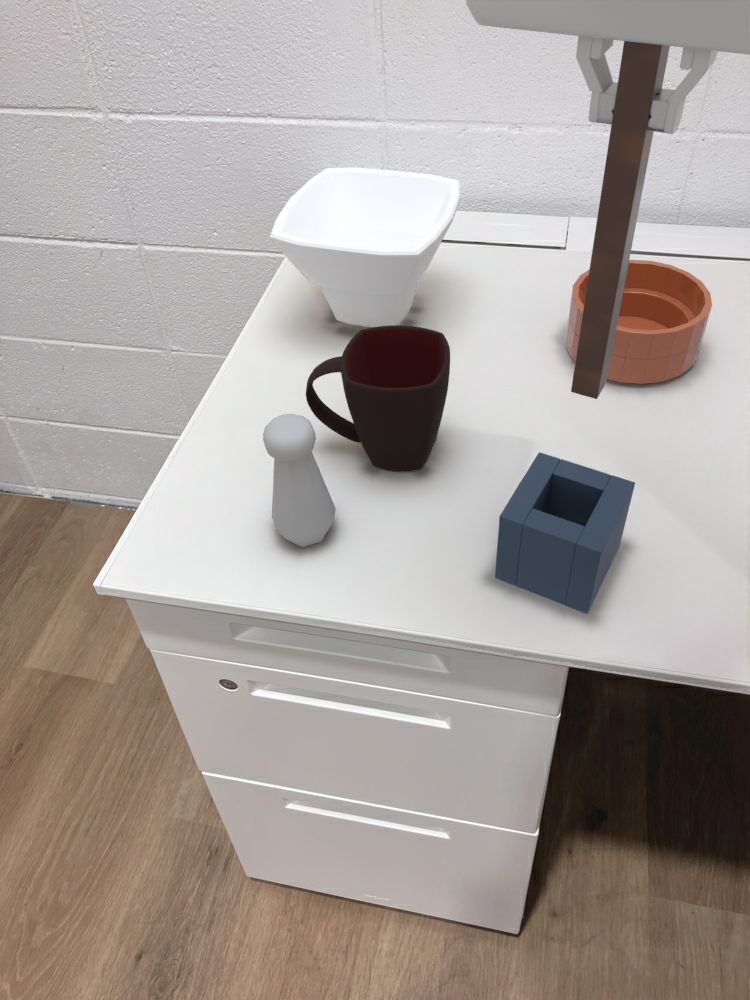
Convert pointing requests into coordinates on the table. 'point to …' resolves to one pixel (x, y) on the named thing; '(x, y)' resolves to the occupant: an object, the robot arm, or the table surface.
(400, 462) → the mug
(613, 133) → the stirring stick
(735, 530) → the table surface
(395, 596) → the table surface
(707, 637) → the table surface
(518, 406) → the table surface
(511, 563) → the box
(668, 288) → the terracotta round dish
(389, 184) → the bowl
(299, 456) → the salt shaker
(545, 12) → the robot arm
